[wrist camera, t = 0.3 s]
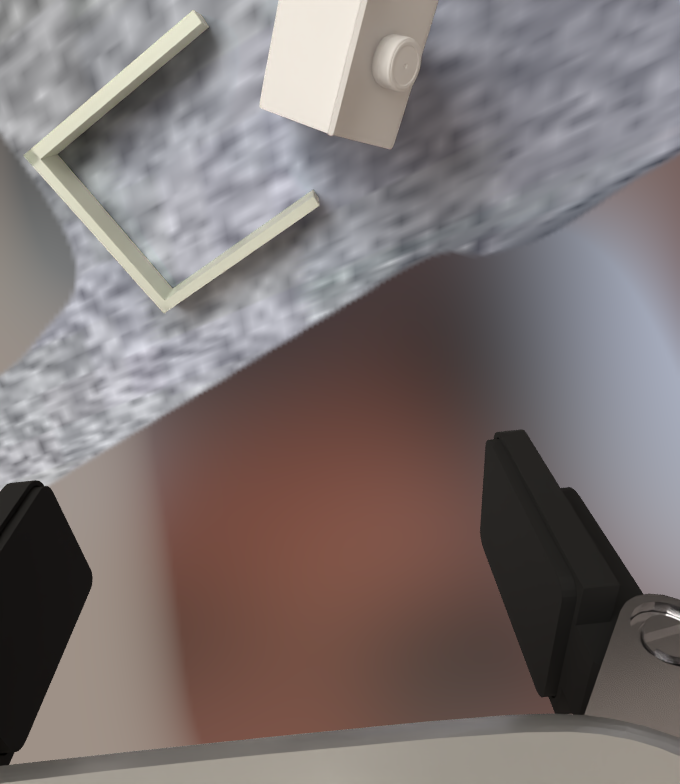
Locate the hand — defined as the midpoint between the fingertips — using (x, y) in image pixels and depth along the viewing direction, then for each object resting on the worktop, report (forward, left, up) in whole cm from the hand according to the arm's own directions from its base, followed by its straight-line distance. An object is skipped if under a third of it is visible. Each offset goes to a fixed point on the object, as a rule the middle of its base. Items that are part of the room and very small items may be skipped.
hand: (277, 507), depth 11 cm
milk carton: (-6, +7, -36) cm, 38 cm away
